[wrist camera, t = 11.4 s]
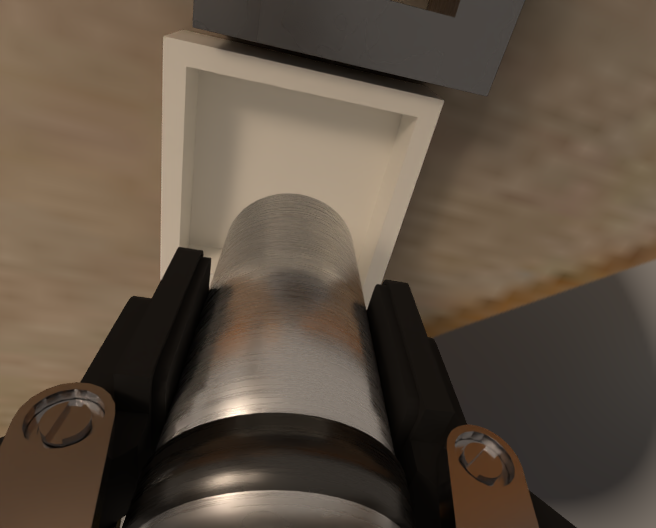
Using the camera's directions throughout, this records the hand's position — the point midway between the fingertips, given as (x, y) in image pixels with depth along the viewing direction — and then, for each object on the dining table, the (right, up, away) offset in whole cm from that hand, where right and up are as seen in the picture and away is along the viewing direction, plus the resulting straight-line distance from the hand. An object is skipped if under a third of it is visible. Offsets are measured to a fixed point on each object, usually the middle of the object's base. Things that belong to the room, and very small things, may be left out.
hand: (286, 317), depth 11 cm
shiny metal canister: (0, +2, +3) cm, 3 cm away
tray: (-1, +5, +7) cm, 9 cm away
